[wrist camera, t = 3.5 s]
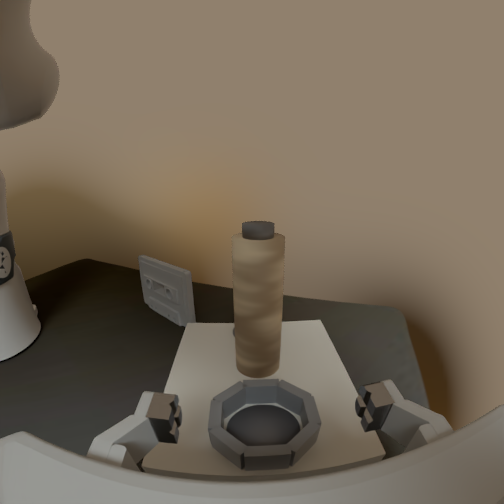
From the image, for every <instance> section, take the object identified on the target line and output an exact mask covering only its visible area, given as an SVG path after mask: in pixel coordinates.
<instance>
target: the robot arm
mask: <svg viewBox="0 0 504 504" xmlns="http://www.w3.org/2000/svg"><path fill="white" fill-rule="evenodd" d="M30 4H31V0H0V130H4V129H9V128H14V127H17V126H20V125H23V124H26V123H28V122H31V121H33V120H36V119H39V118H41V117H42V116H43V115H44V114H45V113H46V112H47V110H48V109H49V107H50V106H51V104H52V103H53V101H54V99H55V96H56V94H57V90H58V86H59V70H58V66H57V63H56V61H55V59H54V58H53V57H52V56H51V55H50V54H49V53H48V52H46V51H45V50H44V49H43V48H42V47H41V46H40V45H39V43H38V42H37V40H36V39H35V37H34V35H33V33H32V29H31V26H30V18H29V11H30ZM15 256H16V254H15V248H14V240H13V237H12V233H11V231H9V228H8V218H7V206H6V189H5V179H4V176H3V173H2V172H1V170H0V361H2V360H5V359H7V358H10V357H12V356H14V355H16V354H17V353H19V352H21V351H22V350H24V349H25V348H26V347H28V346H29V345H30V344H31V343H32V342H33V341H34V340H35V338H36V337H37V336H38V334H39V332H40V329H41V324H40V321H39V319H38V318H37V314H38V310H37V307H36V305H33V304H32V302H31V299H30V297H29V294H28V291H27V288H26V285H25V282H24V279H23V276H22V273H21V270H20V267H19V266H18V265H17V264H16V263H15V261H14V258H15ZM359 393H360V395H359V396H358V397H357V398H356V401H355V410H356V414H357V416H358V417H360V418H362V420H361V422H360V423H361V425H362V427H363V430H364V432H369V431H374V430H378V429H381V430H382V431H383V432H385V433H386V434H388V435H389V436H390V437H392V438H393V439H394V440H396V441H397V442H399V443H400V444H402V445H403V446H404V447H406V449H405V450H404V452H403V453H402V454H400V455H397V456H394V457H391V458H388V459H385V460H382V461H379V462H375V463H372V464H368V465H364V466H360V467H356V468H352V469H348V470H343V471H339V472H334V473H329V474H323V475H317V476H310V477H303V478H295V479H285V480H273V481H253V482H225V481H205V480H193V479H183V478H175V477H168V476H161V475H155V474H150V473H145V472H141V471H140V469H139V468H138V466H137V465H136V464H137V463H138V462H139V461H140V460H141V459H142V458H143V457H145V456H146V455H147V454H148V453H149V452H150V451H151V450H152V449H153V448H154V447H155V446H156V445H157V444H158V443H159V442H163V443H173V444H177V442H178V438H179V430H178V428H179V427H180V426H181V423H182V410H181V407H180V406H179V405H178V403H179V398H178V395H175V394H166V393H158V392H150V391H144V392H143V394H142V396H141V399H140V401H139V403H138V406H137V408H136V411H135V413H134V415H130V416H128V417H127V418H125V419H124V420H122V421H121V422H119V423H118V424H116V425H114V426H113V427H111V428H110V429H108V430H106V431H105V432H103V433H102V434H100V435H98V436H97V437H95V438H94V440H93V442H92V445H91V447H90V449H89V451H88V453H87V455H86V457H85V456H82V455H79V454H76V453H74V452H71V451H68V450H66V449H63V448H61V447H59V446H56V445H54V444H51V443H49V442H47V441H45V440H43V439H40V438H38V437H36V436H34V435H32V434H30V433H28V432H25V431H21V432H17V433H14V434H12V435H9V436H6V437H4V438H1V439H0V504H504V405H500V406H498V407H496V408H495V409H493V410H492V411H490V412H488V413H487V414H485V415H483V416H482V417H480V418H478V419H477V420H475V421H473V422H471V423H470V424H468V425H466V426H464V427H462V428H460V429H458V430H457V431H453V429H452V428H451V426H450V425H449V423H448V422H447V421H446V419H445V418H444V416H442V415H440V414H437V413H435V412H433V411H431V410H428V409H426V408H424V407H422V406H420V405H418V404H416V403H413V402H411V401H409V400H404V398H403V397H402V395H401V394H400V392H399V391H398V389H397V388H396V386H395V385H394V383H393V382H392V380H390V379H389V380H385V381H381V382H376V383H371V384H366V385H362V386H361V387H360V389H359Z"/></svg>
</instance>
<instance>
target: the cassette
mask: <svg viewBox="0 0 504 504" xmlns="http://www.w3.org/2000/svg"><path fill="white" fill-rule="evenodd" d="M138 260H139V268H140V276H141V283H142V289H143V296H144V301H145V303H146V304H148V305H149V307H150V308H151V309H153V310H154V311H156V312H158V313H159V314H161V315H162V316H164V317H166V318H167V319H169V320H171V321H172V322H174V323H176V324H177V325H179V326H185V327H186V325H187V323H196V319H195V310H194V300H193V289H192V278H191V272H190V271H188V270H186V269H183V268H180V267H177V266H174V265H171V264H168V263H165V262H163V261H160V260H157V259H154V258H151V257H148V256H146V255H140V256H138ZM163 286H164V288H163Z"/></svg>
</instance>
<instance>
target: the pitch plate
mask: <svg viewBox="0 0 504 504" xmlns="http://www.w3.org/2000/svg"><path fill="white" fill-rule="evenodd" d="M164 393H166V394H175V395H178V398H179V403H178V405H179V406H180V407H181V410H182V423H181V426H180V427H179V428H178V430H179V438H178V442H177V444H173V443H163V442H159V443H158V444H157V445H156V446H155V447H154V448H153V449H152V450H151V451H150V452H149V453H148V454H147V455H146V456H145V457H144V459H143V462H142V468H143V469H144V471H145V472H146V473H150V474H155V475H161V476H168V477H175V478H183V479H193V480H205V481H225V482H253V481H273V480H285V479H295V478H303V477H310V476H317V475H323V474H329V473H334V472H339V471H343V470H348V469H352V468H356V467H360V466H364V465H368V464H372V463H375V462H379V461H381V460H382V459H383V457H384V456H385V454H386V453H385V451H384V448H383V446H382V444H381V442H380V440H379V438H378V435H377V433H376V431H375V430H374V431H369V432H364V430H363V427H362V425H361V423H360V422H361V420H362V418H360V417H358V416H357V414H356V410H355V401H356V398H357V397H358V394H357V391H356V389H355V387H354V385H353V383H352V381H351V379H350V377H349V375H348V373H347V371H346V369H345V367H344V365H343V363H342V361H341V359H340V357H339V355H338V353H337V351H336V349H335V348H334V346H333V344H332V342H331V340H330V338H329V336H328V334H327V332H326V330H325V328H324V326H323V324H322V322H321V320H309V321H291V322H282V329H281V347H280V364H279V369H278V370H277V372H276V373H274V374H273V375H271V376H268V377H265V378H251V377H247V376H245V375H243V374H241V373H240V372H239V371H238V369H237V367H236V348H235V325H234V323H187V325H186V328H185V331H184V334H183V337H182V340H181V343H180V345H179V348H178V351H177V354H176V357H175V360H174V363H173V366H172V369H171V372H170V375H169V378H168V381H167V384H166V387H165V390H164Z"/></svg>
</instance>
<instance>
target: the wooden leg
mask: <svg viewBox="0 0 504 504" xmlns="http://www.w3.org/2000/svg"><path fill="white" fill-rule="evenodd" d="M284 248H285V237H284V236H283V235H281V234H278V233H274V223H272V222H266V221H251V222H245V223H242V233H239V234H236V235H233V236H232V266H233V299H234V325H235V348H236V367H237V369H238V371H239V372H240V373H241V374H243V375H245V376H247V377H251V378H265V377H268V376H271V375H273V374H274V373H276V372H277V370H278V369H279V364H280V347H281V329H282V308H283V283H284V281H283V280H284V250H285V249H284Z"/></svg>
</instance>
